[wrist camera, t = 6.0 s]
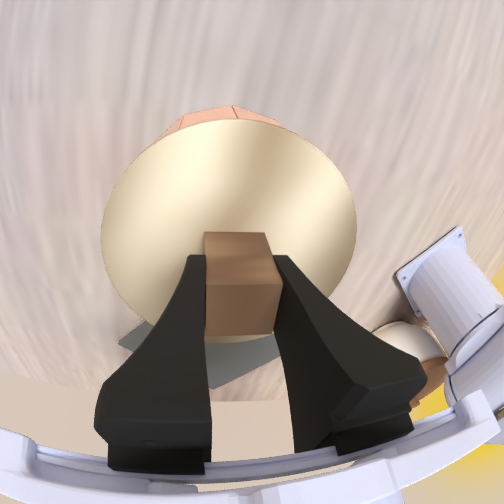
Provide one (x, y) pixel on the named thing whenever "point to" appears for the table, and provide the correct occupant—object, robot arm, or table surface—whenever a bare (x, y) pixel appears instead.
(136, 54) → the table surface
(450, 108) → the table surface
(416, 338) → the lidded jar
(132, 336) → the mat
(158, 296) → the lid
